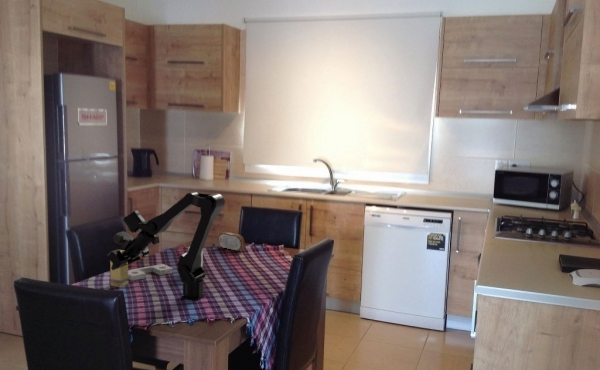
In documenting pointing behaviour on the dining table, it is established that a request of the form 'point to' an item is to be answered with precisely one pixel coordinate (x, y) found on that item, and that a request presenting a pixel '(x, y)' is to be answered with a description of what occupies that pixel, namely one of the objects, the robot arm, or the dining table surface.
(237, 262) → the dining table surface
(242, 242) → the bread slice
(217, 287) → the dining table surface
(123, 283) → the gold block
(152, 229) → the robot arm
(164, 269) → the bracket
